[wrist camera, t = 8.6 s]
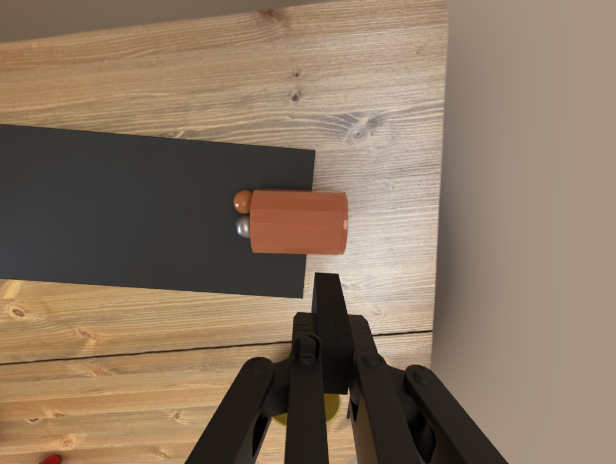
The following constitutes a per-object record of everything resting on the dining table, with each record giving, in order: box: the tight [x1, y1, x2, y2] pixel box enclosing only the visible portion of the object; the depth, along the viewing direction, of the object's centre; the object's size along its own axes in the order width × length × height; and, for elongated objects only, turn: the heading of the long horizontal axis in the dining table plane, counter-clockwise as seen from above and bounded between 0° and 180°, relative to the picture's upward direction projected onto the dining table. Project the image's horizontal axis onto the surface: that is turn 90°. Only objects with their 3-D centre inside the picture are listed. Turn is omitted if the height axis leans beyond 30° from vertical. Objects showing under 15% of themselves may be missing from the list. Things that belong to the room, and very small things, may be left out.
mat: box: [0, 124, 315, 299], centre depth 37 cm, size 44×20×1 cm, turn 85°
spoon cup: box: [250, 189, 348, 255], centre depth 33 cm, size 7×7×10 cm
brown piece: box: [233, 190, 253, 214], centre depth 35 cm, size 3×3×12 cm
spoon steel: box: [236, 215, 250, 238], centre depth 35 cm, size 3×3×12 cm
